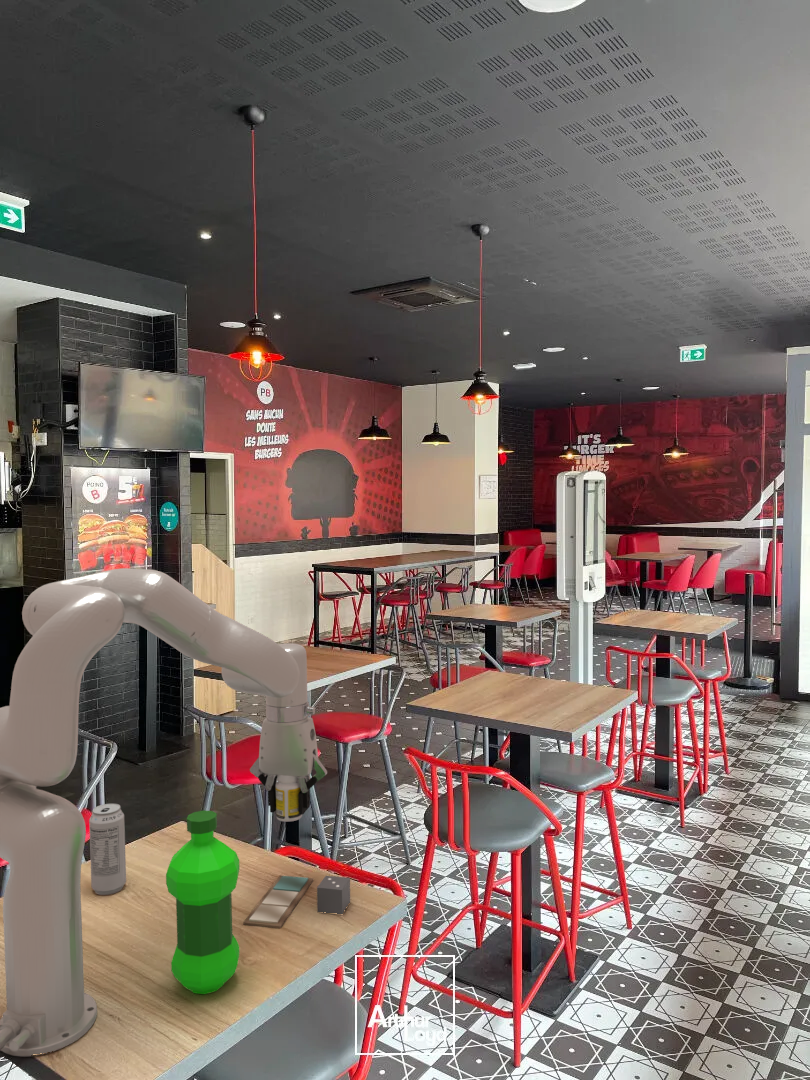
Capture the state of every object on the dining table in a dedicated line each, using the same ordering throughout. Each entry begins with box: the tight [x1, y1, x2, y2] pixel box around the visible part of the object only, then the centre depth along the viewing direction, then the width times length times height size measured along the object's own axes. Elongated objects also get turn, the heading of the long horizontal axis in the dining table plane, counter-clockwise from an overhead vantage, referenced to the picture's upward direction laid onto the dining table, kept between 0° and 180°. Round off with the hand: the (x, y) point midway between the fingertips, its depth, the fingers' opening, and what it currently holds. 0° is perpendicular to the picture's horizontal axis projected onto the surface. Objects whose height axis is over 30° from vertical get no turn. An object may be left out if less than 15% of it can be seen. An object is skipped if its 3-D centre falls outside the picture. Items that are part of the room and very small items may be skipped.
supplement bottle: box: [275, 775, 303, 822], centre depth 146 cm, size 5×5×8 cm
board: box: [243, 875, 315, 929], centre depth 141 cm, size 17×7×1 cm, turn 168°
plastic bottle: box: [165, 810, 240, 995], centre depth 116 cm, size 10×10×25 cm
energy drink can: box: [88, 803, 127, 896], centre depth 147 cm, size 6×6×15 cm
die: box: [316, 875, 351, 915], centre depth 139 cm, size 4×4×5 cm
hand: (289, 809), depth 146 cm, fingers closed on supplement bottle, 4 cm apart
